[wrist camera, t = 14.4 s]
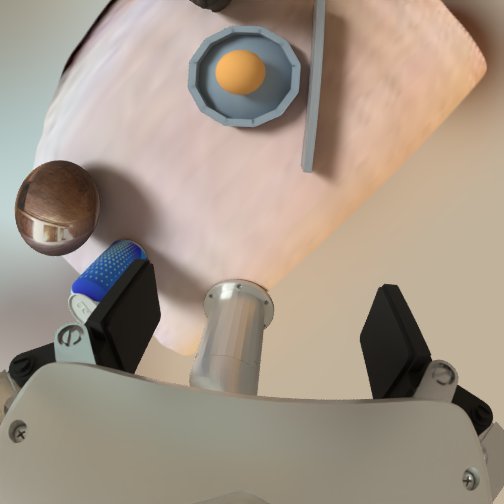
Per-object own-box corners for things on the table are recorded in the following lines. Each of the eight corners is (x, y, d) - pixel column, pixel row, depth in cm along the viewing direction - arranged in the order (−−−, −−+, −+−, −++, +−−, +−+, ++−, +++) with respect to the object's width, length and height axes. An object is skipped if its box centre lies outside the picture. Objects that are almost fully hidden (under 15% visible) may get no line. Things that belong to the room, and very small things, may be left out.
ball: (268, 56, 30) (264, 45, 24) (265, 97, 32) (261, 94, 27) (223, 55, 30) (211, 45, 25) (220, 96, 33) (207, 92, 28)
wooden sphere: (119, 236, 46) (71, 283, 33) (59, 226, 46) (10, 264, 33) (115, 151, 38) (52, 176, 25) (51, 152, 39) (-8, 176, 26)
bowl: (294, 129, 35) (295, 131, 33) (191, 124, 36) (186, 125, 34) (301, 34, 28) (303, 29, 26) (197, 32, 29) (192, 27, 27)
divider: (308, 166, 37) (311, 172, 34) (300, 165, 37) (303, 171, 34) (320, 8, 26) (325, -3, 22) (313, 7, 26) (317, -4, 22)
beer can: (152, 241, 46) (106, 298, 32) (152, 281, 50) (114, 342, 36) (111, 232, 46) (58, 281, 32) (113, 270, 50) (69, 324, 36)
